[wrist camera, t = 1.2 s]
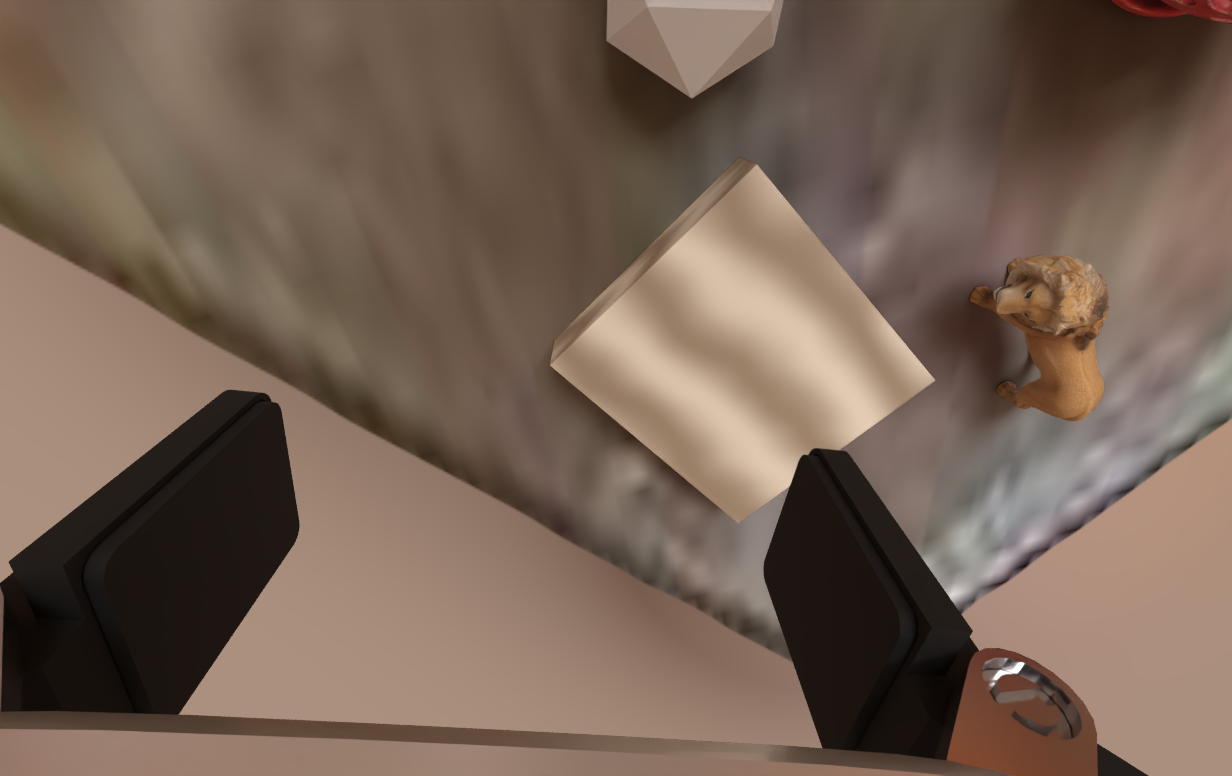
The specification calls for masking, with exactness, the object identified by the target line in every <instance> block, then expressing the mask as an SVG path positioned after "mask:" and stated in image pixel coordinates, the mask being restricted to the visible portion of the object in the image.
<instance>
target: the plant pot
mask: <svg viewBox="0 0 1232 776" xmlns="http://www.w3.org/2000/svg"><path fill="white" fill-rule="evenodd" d="M1111 1H1112V2H1113V3H1115V4H1116V5H1118V6H1119V7H1121V8H1123V9H1125V10H1127V11H1129V12H1132V13H1135V14H1138V15H1141V16H1148V17H1159V18H1162V17H1174V16H1180V15H1185V14H1191V15H1194V16H1197V17H1200V18H1204V19H1207V20H1212V21H1216V22H1222V23H1230V24H1232V0H1111Z"/></svg>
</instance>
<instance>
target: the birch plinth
mask: <svg viewBox="0 0 1232 776" xmlns="http://www.w3.org/2000/svg"><path fill="white" fill-rule="evenodd" d="M550 366H551V367H552V368H554V369H555V370H556V371H557V372H558V373H560V374H561V375H562V376H563V377H564V378H566V379H567V380H568V381H569V382H570V383H572V384H573V385H574V386H575V387H576V388H577V389H579V390H580V391H581V392H582V393H583V394H585V395H586V396H587V397H588V398H589V399H591V400H592V401H593V402H594V403H595V404H597V405H598V406H599V407H600V408H601V409H603V410H604V411H605V412H606V413H607V414H608V415H610V416H611V417H612V418H613V419H614V420H616V421H617V422H618V423H619V424H620V425H622V426H623V427H624V428H625V429H626V430H628V431H629V432H630V433H631V434H632V435H633V436H635V437H636V438H637V439H638V440H639V441H641V442H642V443H643V444H644V445H645V446H647V447H648V448H649V449H650V450H651V451H653V452H654V453H655V454H656V455H657V456H658V457H660V458H661V459H662V460H663V461H664V462H666V463H667V464H668V465H669V466H670V467H672V468H673V469H674V470H675V471H676V472H678V473H679V474H680V475H681V476H682V477H684V478H685V479H686V480H687V481H688V482H689V483H691V484H692V485H693V486H694V487H695V488H697V489H698V490H699V491H700V492H701V493H703V494H704V495H705V496H706V497H707V498H709V499H710V500H711V501H712V502H713V503H714V504H716V505H717V506H718V507H719V508H720V509H722V510H723V511H724V512H725V513H726V514H728V515H729V516H730V517H731V518H732V519H734V520H735V521H736V522H737V523H739V522H741V521H742V520H743V519H745V518H746V517H748V516H749V515H750V514H752V513H753V512H755V511H756V510H757V509H759V508H760V507H761V506H763V505H764V504H766V503H767V502H768V501H770V500H771V499H772V498H774V497H775V496H777V495H778V494H779V493H781V492H782V491H783V490H785V489H786V488H788V487H789V486H790V485H791V482H792V479H793V476H794V473H795V470H796V467H797V464H798V461H799V459H800V457H801V456H802V455H809V453H810V451H811V450H812V449H814V448H821V449H831V450H840V449H841V448H843V447H844V446H846V445H847V444H848V443H850V442H851V441H852V440H854V439H855V438H857V437H858V436H859V435H861V434H862V433H863V432H865V431H866V430H868V429H869V428H870V427H872V426H873V425H874V424H876V423H877V422H879V421H880V420H881V419H883V418H884V417H886V416H887V415H888V414H890V413H891V412H892V411H894V410H895V409H897V408H898V407H899V406H901V405H902V404H903V403H905V402H906V401H908V400H909V399H910V398H912V397H913V396H914V395H916V394H917V393H919V392H920V391H921V390H923V389H924V388H925V387H927V386H928V385H930V384H931V383H932V382H934V381H935V379H934V378H933V377H932V376H931V375H930V373H929V372H928V371H927V370H926V369H925V367H924V366H923V365H922V364H921V362H920V361H919V360H918V359H917V358H916V356H915V355H914V354H913V353H912V352H911V350H910V349H909V348H908V347H907V346H906V344H905V343H904V342H903V341H902V339H901V338H900V337H899V336H898V335H897V333H896V332H895V331H894V330H893V329H892V327H891V326H890V325H889V324H888V323H887V321H886V320H885V319H884V318H883V316H882V315H881V314H880V313H879V312H878V310H877V309H876V308H875V307H874V306H873V304H872V303H871V302H870V301H869V300H868V298H867V297H866V296H865V295H864V293H863V292H862V291H861V290H860V289H859V287H858V286H857V285H856V284H855V283H854V281H853V280H852V279H851V278H850V277H849V275H848V274H847V273H846V272H845V270H844V269H843V268H842V267H841V266H840V264H839V263H838V262H837V261H836V260H835V258H834V257H833V256H832V255H831V254H830V252H829V251H828V250H827V249H826V248H825V246H824V245H823V244H822V243H821V241H820V240H819V239H818V238H817V237H816V235H815V234H814V233H813V232H812V231H811V229H810V228H809V227H808V226H807V225H806V223H805V222H804V221H803V220H802V218H801V217H800V216H799V215H798V214H797V212H796V211H795V210H794V209H793V208H792V206H791V205H790V204H789V203H788V202H787V200H786V199H785V198H784V197H783V195H782V194H781V193H780V192H779V191H778V189H777V188H776V187H775V186H774V185H773V183H772V182H771V181H770V180H769V179H768V177H767V176H766V175H765V174H764V172H763V171H762V170H761V169H760V168H759V166H758V165H757V164H755V163H753V162H750V161H748V160H746V159H744V158H742V157H739V158H738V159H737V160H736V161H735V162H734V163H733V164H732V165H731V166H730V167H729V168H728V169H727V170H726V171H725V172H724V173H723V174H722V175H721V176H720V177H719V178H718V179H717V180H716V181H715V182H714V183H713V184H712V185H711V186H710V187H709V188H708V189H706V190H705V191H704V192H703V193H702V194H701V195H700V196H699V197H698V198H697V199H696V200H695V201H694V202H693V203H692V204H691V205H690V206H689V207H688V208H687V209H686V210H685V211H684V212H683V213H682V214H681V215H680V216H679V217H678V218H677V219H676V220H675V221H674V222H673V223H672V224H671V225H670V226H669V227H668V228H667V229H666V230H665V231H664V232H663V233H662V234H661V235H660V236H659V237H658V238H657V239H656V240H655V241H654V242H653V243H652V244H651V245H650V246H649V247H648V248H647V249H646V250H645V251H644V252H643V253H642V254H641V255H640V256H639V257H638V258H637V259H636V260H635V261H634V262H633V263H632V264H631V265H630V266H629V267H628V268H627V269H626V270H625V271H624V272H623V273H622V274H621V275H620V276H619V277H618V278H617V279H616V280H614V281H613V282H612V283H611V284H610V285H609V286H608V287H607V288H606V289H605V290H604V291H603V292H602V293H601V294H600V295H599V296H598V297H597V298H596V299H595V300H594V301H593V302H592V303H591V304H590V305H589V306H588V307H587V308H586V309H585V310H584V311H583V312H582V313H581V314H580V315H579V316H578V317H577V318H576V319H575V320H574V321H573V322H572V323H571V324H570V325H569V326H568V327H567V328H566V329H565V330H564V331H563V332H562V333H561V334H560V335H559V336H558V337H557V338H556V339H555V340H554V346H553V351H552V357H551V363H550Z"/></svg>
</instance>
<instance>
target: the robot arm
mask: <svg viewBox="0 0 1232 776" xmlns="http://www.w3.org/2000/svg"><path fill="white" fill-rule="evenodd" d="M298 532H299V517H298V511H297V505H296V499H295V492H294V486H293V480H292V474H291V468H290V461H289V455H288V449H287V443H286V436H285V430H284V424H283V418H282V412H281V408H280V406H279V405H278V404H277V403H274V402H271V399H270V397H269V396H268V395H267V394H265V393H258V392H248V391H237V390H227V391H225V392H223V393H222V394H220V395H219V396H218V397H216V398H215V399H214V400H212V402H210V403H209V404H207V405H206V406H205V407H204V408H202V409H201V410H200V411H199V412H197V413H196V414H195V415H194V416H192V417H191V418H190V419H189V420H187V421H186V422H185V423H183V424H182V425H181V426H180V427H178V428H177V429H176V430H175V431H173V432H172V433H171V434H169V435H168V436H167V437H166V438H164V439H163V440H162V441H161V442H159V443H158V444H157V445H156V446H154V447H153V448H152V449H151V450H149V451H148V452H147V453H145V454H144V455H143V456H142V457H140V458H139V459H138V460H137V461H135V462H134V463H133V464H131V465H130V466H129V467H128V468H126V469H125V470H124V471H123V472H121V473H120V474H119V475H118V476H116V477H115V478H114V479H113V480H111V481H110V482H109V483H107V484H106V485H105V486H104V487H102V488H101V489H100V490H99V491H97V492H96V493H95V494H94V495H92V496H91V497H90V498H89V499H87V500H86V501H85V502H83V503H82V504H81V505H80V506H78V507H77V508H76V509H75V510H73V511H72V512H71V513H69V514H68V515H67V516H66V517H65V518H63V519H62V520H61V521H59V522H58V523H57V524H56V525H54V526H53V527H52V528H51V529H49V530H48V531H47V532H46V533H44V534H43V535H42V536H40V537H39V538H38V539H37V540H35V541H34V542H33V543H32V544H31V545H29V546H28V547H26V548H25V549H24V550H23V551H21V552H20V553H19V554H18V555H16V556H15V557H14V558H13V559H11V560H10V561H9V564H10V566H11V568H12V570H13V573H12V574H11V575H10V576H8V577H7V578H6V579H5V580H3V581H2V582H1V583H0V776H1148V775H1146V774H1145V773H1143V772H1142V771H1140V770H1138V769H1137V768H1135V767H1134V766H1132V765H1130V764H1129V763H1127V762H1126V761H1124V760H1123V759H1121V758H1119V757H1118V756H1116V755H1115V754H1113V753H1111V752H1110V751H1108V750H1107V749H1105V748H1103V747H1102V746H1100V745H1099V744H1097V732H1096V728H1095V724H1094V720H1093V718H1092V716H1091V714H1090V713H1089V711H1088V709H1087V707H1086V706H1085V704H1084V703H1083V701H1082V700H1081V699H1080V698H1079V697H1078V696H1077V695H1076V693H1075V692H1074V691H1073V690H1072V689H1071V688H1070V687H1069V686H1068V685H1067V684H1066V683H1065V682H1063V681H1062V680H1061V679H1060V678H1059V677H1058V676H1056V675H1055V674H1054V673H1053V672H1051V671H1050V670H1048V669H1047V668H1045V667H1043V666H1042V665H1040V664H1039V663H1037V662H1035V661H1034V660H1032V659H1029V658H1027V657H1025V656H1023V655H1021V654H1018V653H1016V652H1012V651H1008V650H1004V649H1000V648H986V649H983V650H981V651H979V650H978V648H977V647H976V646H975V644H974V643H973V641H972V640H971V638H970V635H971V633H972V632H973V631H972V629H971V628H970V626H969V625H968V623H967V622H966V621H965V619H964V618H963V616H962V615H961V613H960V612H959V611H958V609H957V608H956V606H955V605H954V603H953V602H952V601H951V599H950V598H949V596H948V595H947V593H946V592H945V591H944V589H943V588H942V586H941V585H940V583H939V582H938V581H937V579H936V578H935V576H934V575H933V573H932V572H931V571H930V569H929V568H928V566H927V565H926V563H925V562H924V561H923V559H922V558H921V556H920V555H919V553H918V552H917V551H916V549H915V548H914V546H913V545H912V543H911V542H910V541H909V539H908V538H907V536H906V535H905V533H904V532H903V531H902V529H901V528H900V526H899V525H898V523H897V522H896V521H895V519H894V518H893V516H892V515H891V513H890V512H889V511H888V509H887V508H886V506H885V505H884V503H883V502H882V501H881V499H880V498H879V496H878V495H877V493H876V492H875V491H874V489H873V488H872V486H871V485H870V483H869V482H868V481H867V479H866V478H865V476H864V475H863V473H862V472H861V471H860V469H859V468H858V466H857V465H856V463H855V462H854V461H853V459H852V458H851V456H850V455H849V454H848V453H847V452H846V451H841V450H831V449H821V448H814V449H812V450H811V451H810V453H809V455H802V456H801V457H800V459H799V461H798V464H797V467H796V470H795V473H794V476H793V479H792V482H791V485H790V488H789V491H788V493H787V496H786V499H785V502H784V505H783V508H782V511H781V514H780V517H779V520H778V523H777V526H776V529H775V532H774V534H773V537H772V540H771V543H770V546H769V549H768V552H767V555H766V558H765V561H764V579H765V582H766V585H767V588H768V591H769V594H770V597H771V600H772V603H773V606H774V608H775V611H776V614H777V617H778V620H779V623H780V626H781V629H782V632H783V635H784V638H785V640H786V643H787V646H788V649H789V652H790V655H791V658H792V661H793V664H794V667H795V669H796V672H797V675H798V678H799V681H800V684H801V687H802V690H803V693H804V695H805V699H806V701H807V704H808V707H809V710H810V713H811V716H812V719H813V722H814V725H815V728H816V731H817V733H818V736H819V739H820V742H821V745H822V748H809V747H797V746H782V745H764V744H763V745H762V744H746V743H730V742H728V743H727V742H712V741H694V740H677V739H660V738H641V737H624V736H607V735H587V734H569V733H550V732H531V731H511V730H493V729H473V728H453V727H434V726H433V727H432V726H414V725H413V726H412V725H394V724H373V723H351V722H330V721H329V722H328V721H308V720H307V721H306V720H286V719H264V718H242V717H221V716H198V715H178V714H179V713H180V712H181V710H182V709H183V707H184V706H185V704H186V703H187V701H188V700H189V698H190V697H191V695H192V694H193V692H194V691H195V690H196V688H197V686H198V685H199V683H200V682H201V681H202V679H203V678H204V676H205V675H206V673H207V672H208V670H209V669H210V667H211V666H212V664H213V663H214V662H215V660H216V659H217V657H218V656H219V654H220V653H221V651H222V650H223V648H224V647H225V645H226V644H227V642H228V641H229V639H230V638H231V636H232V635H233V633H234V632H235V630H236V629H237V627H238V626H239V625H240V623H241V622H242V620H243V619H244V617H245V616H246V614H247V613H248V611H249V610H250V608H251V607H252V605H253V604H254V603H255V601H256V599H257V598H258V596H259V595H260V593H261V592H262V591H263V589H264V588H265V586H266V585H267V583H268V582H269V580H270V579H271V577H272V576H273V574H274V573H275V572H276V570H277V569H278V567H279V565H280V564H281V563H282V561H283V560H284V558H285V557H286V555H287V554H288V552H289V551H290V549H291V548H292V546H293V545H294V543H295V541H296V539H297V536H298Z"/></svg>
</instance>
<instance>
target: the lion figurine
mask: <svg viewBox="0 0 1232 776" xmlns="http://www.w3.org/2000/svg"><path fill="white" fill-rule="evenodd" d="M1008 272H1009V276H1008V278H1007V281H1006V284H1005V286H1002V287H999V288H997V289H995V291H994V292H992V291H991V290H990V289H989V288H988V287H986V286H981V287H976V289H975V290H974V291H973V292H972V294H971V297H970V301H971V302H973V303H975V304H978V305H980V306H982V307H984V308H988V309H991V310H993V311H994V312H995V313H996V314H997V315H998V316H999V317H1001V318H1002V319H1003V320H1005V321H1007V322H1009V323H1011V324H1012V325H1014V326H1017V327H1018V328H1020V329H1021V330H1023V331H1024V332H1025V339H1026V343H1027V346H1028V349H1029V352H1030V355H1031V357H1032V360H1033V361H1034V363H1035V365H1036V366H1037V368H1038V369H1039V370H1040V372H1041V378H1040V379H1038V380H1036V381H1034V382H1031V383H1029V384H1027V385H1024V386H1023V387H1021V388H1020V390H1019V391H1018V392H1017V389H1016V386H1015V384H1014V383H1012V382H1007V381H1006V382H1003V383H1002V384H1000V385H999V387H998V389H997V392H998V394H999V395H1000V396H1001V397H1003V398H1005V399H1006V400H1008V401H1010V402H1012V403H1013V404H1014V405H1016V406H1017V407H1019V408H1022V409H1027V408H1030V407H1034V408H1037V409H1039V410H1041V411H1043V412H1045V413H1047V414H1050V415H1052V416H1055V417H1058V418H1061V419H1064V420H1068V421H1078V420H1081V419H1083V418H1085V417H1086V416H1087V415H1088V414H1089V413H1090V412H1091V411H1092V410H1093V409H1095V408H1096V406H1097V405H1098V403H1099V402H1100V400H1101V398H1102V395H1103V392H1104V382H1103V378H1102V376H1101V374H1100V371H1099V369H1098V365H1097V359H1096V352H1095V338H1096V337H1097V336H1098V335H1099V330H1100V329H1101V327H1102V326H1103V322H1102V321H1104V320H1106V318H1107V316H1106V311H1107V310H1108V309H1109V304H1108V299H1109V294H1108V290H1107V285H1106V284H1105V283H1104V278H1103V277H1102V275H1100V274H1098V273H1097V271H1096V270H1095V269H1094V268H1093V267H1092V265H1091V264H1089V263H1084V262H1083V261H1082V260H1081V259H1079V258H1071V257H1069V256H1046V255H1039V256H1032V257H1028V258H1025V259H1023V258H1019V259H1015V260H1014V261H1012V262H1011V263H1010V264H1009V265H1008Z"/></svg>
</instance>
